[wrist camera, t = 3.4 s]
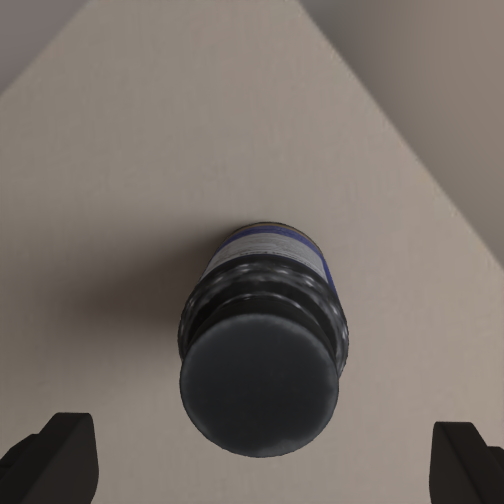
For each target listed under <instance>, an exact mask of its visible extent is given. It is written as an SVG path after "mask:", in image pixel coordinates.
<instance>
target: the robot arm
mask: <svg viewBox="0 0 504 504" xmlns="http://www.w3.org/2000/svg"><path fill="white" fill-rule="evenodd" d="M98 477H99V467H98V458H97V450H96V441H95V433H94V424H93V419H92V416H91V415H90V414H89V413H61V412H58V413H56V414H55V415H54V416H53V417H52V418H51V419H50V420H49V422H48V423H47V424H46V425H45V426H44V428H43V429H42V430H41V431H40V433H39V434H31V435H29V436H28V437H26V438H25V439H23V440H22V441H20V442H19V443H17V444H16V445H14V446H13V447H11V448H10V449H9V451H8V452H7V453H6V454H5V455H4V456H3V457H2V459H1V460H0V504H90V503H91V501H92V499H93V497H94V495H95V492H96V488H97V484H98ZM429 491H430V498H431V503H432V504H504V450H503V449H502V448H501V447H495V446H487V445H486V443H485V442H484V440H483V439H482V437H481V435H480V434H479V432H478V431H477V429H476V428H475V426H474V425H473V424H472V423H471V422H435V424H434V428H433V437H432V449H431V462H430V474H429Z"/></svg>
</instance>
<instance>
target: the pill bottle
mask: <svg viewBox="0 0 504 504" xmlns="http://www.w3.org/2000/svg"><path fill="white" fill-rule="evenodd" d="M178 328H179V329H178V340H177V341H178V348H179V354H180V358H181V361H182V366H181V371H180V380H179V385H180V394H181V398H182V402H183V406H184V408H185V410H186V412H187V415H188V416H189V418H190V420H191V421H192V423H193V424H194V425H195V427H196V428H197V429H198V430H199V431H200V432H201V433H202V434H203V435H204V436H205V437H206V438H207V439H208V440H210V441H211V442H213V443H215V444H216V445H218V446H220V447H221V448H222V449H225V450H228V451H230V452H231V453H235V454H239V455H243V456H248V457H255V458H265V457H274V456H281V455H284V454H287V453H290V452H294V451H295V450H297V449H300V448H302V447H303V446H305V445H307V444H308V443H310V442H311V441H313V439H314V438H316V437H317V436H318V435H319V434H320V432H322V431H323V429H324V428H325V427H326V425H327V424H328V422H329V421H330V419H331V417H332V415H333V412H334V409H335V407H336V404H337V400H338V394H339V378H340V376H341V374H342V371H343V368H344V366H345V365H346V359H347V357H348V346H349V339H348V335H349V332H348V326H347V321H346V318H345V315H344V312H343V309H342V307H341V304H340V301H339V298H338V295H337V292H336V289H335V286H334V283H333V280H332V277H331V275H330V272H329V269H328V266H327V263H326V261H325V259H324V257H323V254H322V252H321V250H320V249H319V247H318V246H317V245H316V244H315V243H314V242H313V241H312V240H311V239H310V238H309V237H308V236H307V235H306V234H304V233H303V232H301V231H299V230H297V229H295V228H294V227H291V226H288V225H286V224H282V223H277V222H260V223H256V224H252V225H249V226H246V227H242V228H240V229H238V230H236V231H235V232H234V233H232V234H231V235H230V236H229V237H228V238H226V239H225V240H224V241H223V243H222V244H221V246H220V247H219V248H218V250H217V251H216V252H215V254H214V256H213V257H212V259H211V260H210V261H209V263H208V265H207V268H206V269H205V271H204V273H203V274H202V276H201V278H200V280H199V282H198V283H197V285H196V286H195V288H194V290H193V292H192V293H191V295H190V296H189V298H188V300H187V302H186V304H185V307H184V310H183V312H182V314H181V320H180V324H179V327H178Z"/></svg>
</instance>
